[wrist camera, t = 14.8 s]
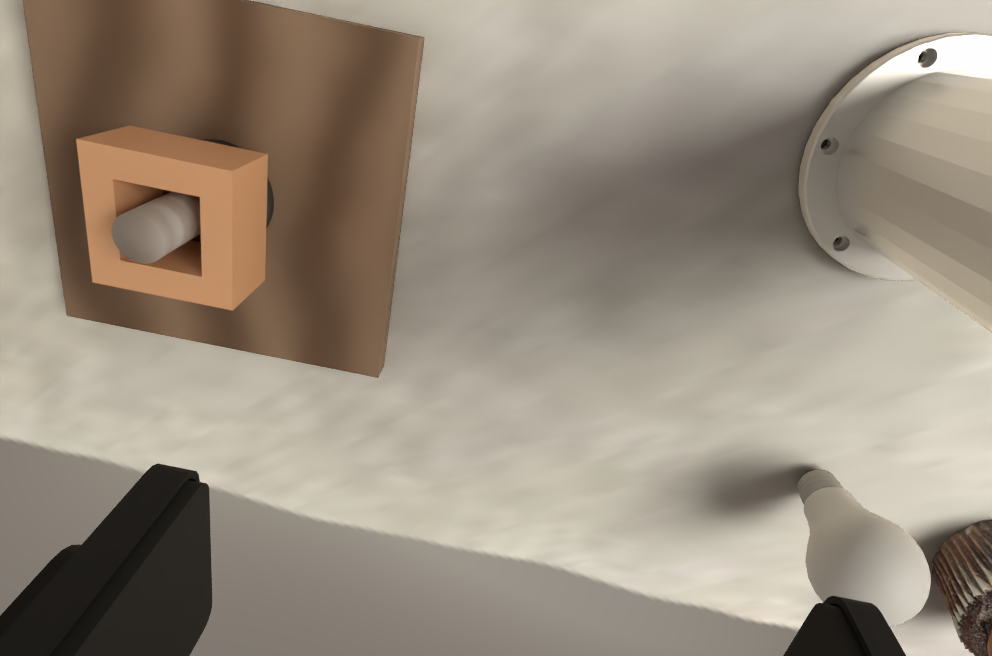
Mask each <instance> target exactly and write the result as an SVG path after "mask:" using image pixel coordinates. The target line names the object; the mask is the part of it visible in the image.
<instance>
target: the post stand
mask: <svg viewBox="0 0 992 656" xmlns="http://www.w3.org/2000/svg"><path fill="white" fill-rule="evenodd" d="M23 6H24V13H25V20H26V27H27V34H28V41H29V49H30V56H31V63H32V70H33V77H34V84H35V92H36V99H37V106H38V113H39V120H40V127H41V135H42V142H43V149H44V156H45V163H46V170H47V178H48V185H49V192H50V199H51V206H52V213H53V221H54V228H55V235H56V242H57V249H58V256H59V264H60V271H61V278H62V285H63V292H64V299H65V307H66V314H67V316H71V317H76V318H81V319H86V320H91V321H96V322H101V323H106V324H111V325H116V326H121V327H126V328H131V329H136V330H141V331H146V332H151V333H156V334H161V335H166V336H171V337H176V338H182V339H187V340H192V341H197V342H202V343H207V344H212V345H217V346H222V347H227V348H232V349H237V350H242V351H247V352H252V353H257V354H262V355H267V356H272V357H277V358H282V359H287V360H292V361H297V362H302V363H307V364H312V365H317V366H322V367H327V368H332V369H337V370H342V371H347V372H352V373H357V374H362V375H367V376H372V377H377V378H378V377H379V375H380V373H381V371H382V369H383V367H384V360H385V352H386V344H387V336H388V328H389V319H390V311H391V303H392V295H393V287H394V279H395V271H396V263H397V255H398V247H399V239H400V231H401V223H402V215H403V207H404V198H405V190H406V182H407V174H408V166H409V158H410V150H411V142H412V134H413V126H414V118H415V110H416V102H417V94H418V86H419V77H420V69H421V61H422V53H423V45H424V37H420V36H415V35H410V34H405V33H401V32H396V31H391V30H386V29H382V28H377V27H372V26H368V25H363V24H358V23H353V22H349V21H344V20H339V19H334V18H330V17H325V16H320V15H315V14H311V13H306V12H301V11H296V10H292V9H287V8H282V7H278V6H273V5H268V4H263V3H259V2H254V1H249V0H23ZM126 126H135V127H140V128H145V129H150V130H155V131H159V132H164V133H169V134H174V135H179V136H184V137H188V138H193V139H198V140H203V141H208V142H213V143H217V144H222V145H227V146H232V147H237V148H242V149H246V150H251V151H256V152H261V153H266V154H268V174H267V219H266V263H265V281H264V282H263V283H262V284H261V285H260V286H259V287H257V288H256V289H255V290H254V291H253V292H252V293H251V294H250V295H249V296H248V297H247V298H246V299H245V300H243V301H242V302H241V303H240V304H239V305H238V306H237V307H236V308H235V309H234V310H233V311H232V310H227V309H223V308H218V307H213V306H208V305H203V304H198V303H193V302H188V301H183V300H178V299H173V298H168V297H163V296H158V295H153V294H148V293H143V292H138V291H133V290H128V289H123V288H118V287H113V286H108V285H103V284H98V283H93V282H92V274H91V265H90V256H89V247H88V239H87V230H86V221H85V212H84V204H83V195H82V186H81V178H80V169H79V160H78V151H77V143H76V139H78V138H82V137H86V136H90V135H94V134H98V133H102V132H106V131H110V130H114V129H118V128H122V127H126ZM112 237H113V240H114V243H115V245H116V246H117V248H118V249H119V250H120V252H121V253H122V254H123V255H125V256H126V257H127V258H129V259H130V260H132V261H135V262H138V263H142V264H149V263H153V262H155V261H157V260H159V259H160V258H162V257H164V256H165V255H167V254H168V253H170V252H172V251H173V250H175V249H176V248H178V247H180V246H181V245H183V244H185V243H186V242H188V241H189V240H193V241H198V242H201V224H200V197H197V196H192V195H188V194H183V193H178V192H173V191H168V190H163V196H160V197H158V198H156V199H154V200H152V201H149V202H147V203H145V204H143V205H141V206H139V207H136V208H134V209H132V210H130V211H128V212H125V213H123V214H121V215H119V216H118V217H117V218H116V219H115V220H114V222H113V225H112Z"/></svg>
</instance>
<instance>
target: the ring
mask: <svg viewBox="0 0 992 656" xmlns="http://www.w3.org/2000/svg"><path fill="white" fill-rule="evenodd" d="M76 143H77V151H78V160H79V169H80V178H81V186H82V195H83V204H84V212H85V221H86V230H87V239H88V247H89V256H90V265H91V274H92V282H93V283H98V284H103V285H108V286H113V287H118V288H123V289H128V290H133V291H138V292H143V293H148V294H153V295H158V296H163V297H168V298H173V299H178V300H183V301H188V302H193V303H198V304H203V305H208V306H213V307H218V308H223V309H227V310H232V311H233V310H234V309H235V308H236V307H237V306H238V305H239V304H240V303H241V302H242V301H243V300H245V299H246V298H247V297H248V296H249V295H250V294H251V293H252V292H253V291H254V290H255V289H256V288H257V287H259V286H260V285H261V284H262V283H263V282H264V281H265V263H266V219H267V174H268V154H266V153H261V152H256V151H251V150H246V149H242V148H237V147H232V146H227V145H222V144H217V143H213V142H208V141H203V140H198V139H193V138H188V137H184V136H179V135H174V134H169V133H164V132H159V131H155V130H150V129H145V128H140V127H135V126H126V127H122V128H118V129H114V130H110V131H106V132H102V133H98V134H94V135H90V136H86V137H82V138H78V139H76ZM163 190H168V191H173V192H178V193H183V194H188V195H192V196H197V197H200V224H201V242H198V241H193V240H189V241H188V242H186V243H185V244H183V245H181V246H180V247H178V248H176V249H175V250H173V251H172V252H170V253H168V254H167V255H165V256H164V257H162V258H160V259H159V260H157V261H155V262H153V263H149V264H142V263H138V262H135V261H132V260H130V259H129V258H127V257H126V256H125V255H123V254H122V253H121V252H120V250H119V249H118V248H117V246H116V245H115V243H114V240H113V237H112V225H113V222H114V220H115V219H116V218H117V217H118V216H119V215H121V214H123V213H125V212H128V211H130V210H132V209H134V208H136V207H139V206H141V205H143V204H145V203H147V202H149V201H152V200H154V199H156V198H158V197H160V196H163Z"/></svg>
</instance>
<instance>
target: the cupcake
mask: <svg viewBox="0 0 992 656" xmlns="http://www.w3.org/2000/svg"><path fill="white" fill-rule="evenodd" d="M932 574H933V576H934V578H935V580H936V582H937V584H938V586H939V588H940V591H941V593H942V595H943V597H944V599H945V602H946V604H947V606H948V609H949V611H950V613H951V615H952V619H953V622H954V625H955V628H956V631H957V634H958V637H959V639H960V641H961V642H963V643H964V646H965V649H969V652H971V653H973V654H974V655H975V656H992V520H987V521H982V522H979V523H976V524H973V525H970V526H969V527H967V528H965V529H963V530H962V531H959V532H957V533H955V534H954V535H952V536H951V537H950V538H949V539H948V540H946V541H945V542H944V543H943V545H942V546H941V547H940V551H939V552H938V553H936V556H935V558H934V559H933V571H932Z"/></svg>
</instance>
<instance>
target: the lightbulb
mask: <svg viewBox="0 0 992 656" xmlns="http://www.w3.org/2000/svg"><path fill="white" fill-rule="evenodd" d="M797 489H798V492H799V495H800V497H801V500H802V502H803V504H804V514H805V516H806V518H807V521H808V524H809V528H810V536H809V540H808V545H807V553H806V567H807V573H808V578H809V580H810V582H811V584H812V586H813V588H814V590H815V592H816V594H817V595H818V596H819V597H820V599H821V600H822V601H823V602H824V601H825V600H826V599H827V598H828V597H830V596H838V597H843V598H848V599H853V600H858V601H863V602H868V603H872V604H874V605H875V606H876V607H878V609H879V610H880V612H881V613H882V614H883V616H884V618H885V620H886V621H887V623H888V625H889V627H893V626H897V625H900V624H902V623H905V622H906V621H908V620H910V619H911V618H913V617H914V616H915V615H917V614H918V613H919V612H920V611H921V609H922V608H923V606H924V604H925V603H926V600H927V598H928V595H929V591H930V585H931V575H930V570H929V566H928V563H927V561H926V558H925V556H924V553H923V551H922V550H921V548H920V547H919V545H918V544H917V543H916V541H915V540H914V539H913V538H912V537H911V536H910V535H909V534H908V533H907V532H905V531H904V530H903V529H902V528H900V527H899V526H898V525H896V524H894V523H892V522H890V521H888V520H886V519H884V518H882V517H880V516H878V515H876V514H873V513H871V512H869V511H868V510H866V509H865V508H863V507H862V506H861V505H860V504H859V503H858V502H857V501H856V499H855V498H854V497H853V495H852V494H851V493H849V492H848V491H847V490H845V489H844V488H843V487H842V486H841V484H840V483H839V482H838V481H837V479H836V478H835V477H834V475H833V474H831V473H830V472H828V471H824V470H813V471H810V472H808V473H806V474H804V475H803V476H802V477H801V478H800V480H799V481H798V484H797Z"/></svg>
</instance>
